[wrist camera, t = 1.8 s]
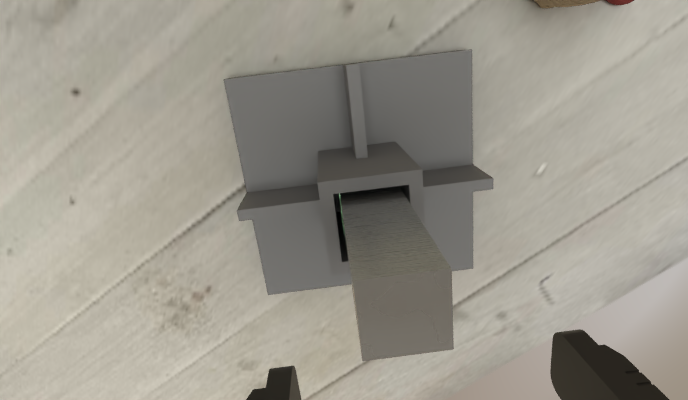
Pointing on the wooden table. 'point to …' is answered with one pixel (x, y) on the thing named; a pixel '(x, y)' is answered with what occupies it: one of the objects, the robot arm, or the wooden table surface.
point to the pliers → (619, 2)
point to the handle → (562, 3)
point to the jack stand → (354, 158)
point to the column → (395, 276)
